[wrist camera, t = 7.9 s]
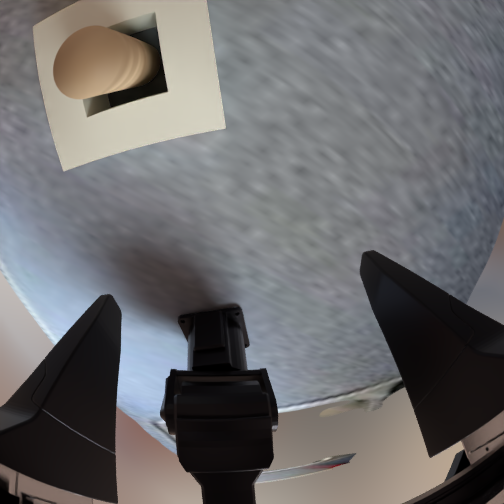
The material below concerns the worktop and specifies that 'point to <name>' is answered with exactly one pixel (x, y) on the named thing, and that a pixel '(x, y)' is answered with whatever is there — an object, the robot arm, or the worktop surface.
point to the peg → (103, 63)
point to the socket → (144, 109)
